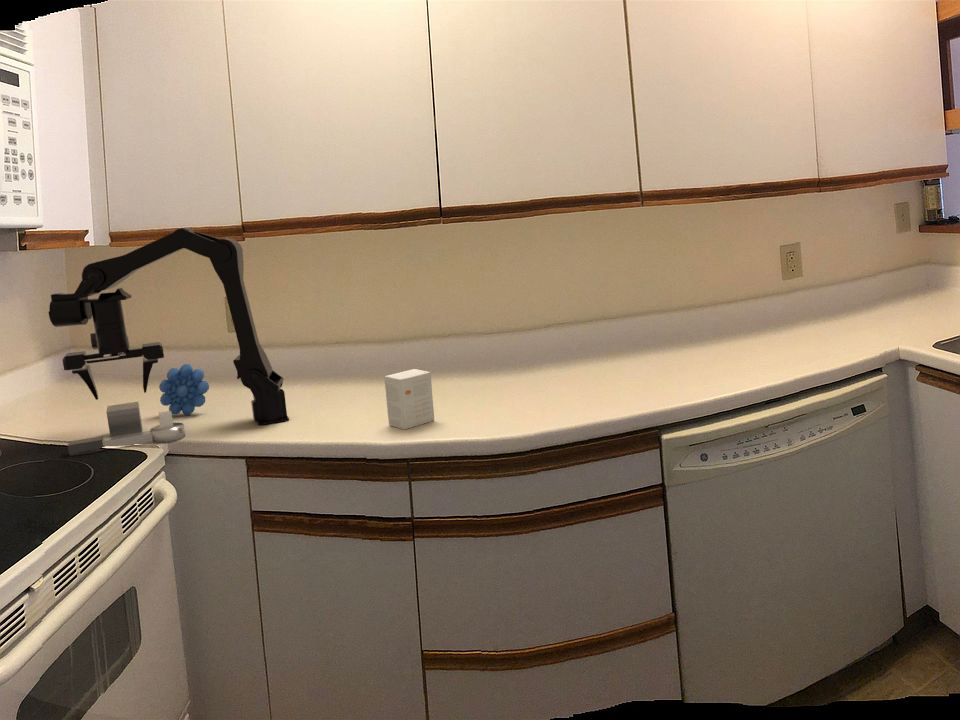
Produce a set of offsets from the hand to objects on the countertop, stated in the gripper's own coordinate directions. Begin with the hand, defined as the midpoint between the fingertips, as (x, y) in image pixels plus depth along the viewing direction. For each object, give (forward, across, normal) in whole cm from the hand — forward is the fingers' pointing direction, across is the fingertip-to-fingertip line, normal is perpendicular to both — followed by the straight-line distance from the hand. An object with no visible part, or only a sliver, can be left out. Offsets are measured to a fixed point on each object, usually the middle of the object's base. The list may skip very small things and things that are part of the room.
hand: (121, 395), depth 155 cm
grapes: (+9, -13, -10) cm, 18 cm away
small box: (+9, -54, +30) cm, 62 cm away
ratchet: (+8, -1, +9) cm, 13 cm away
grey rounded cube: (+8, 0, 0) cm, 8 cm away
